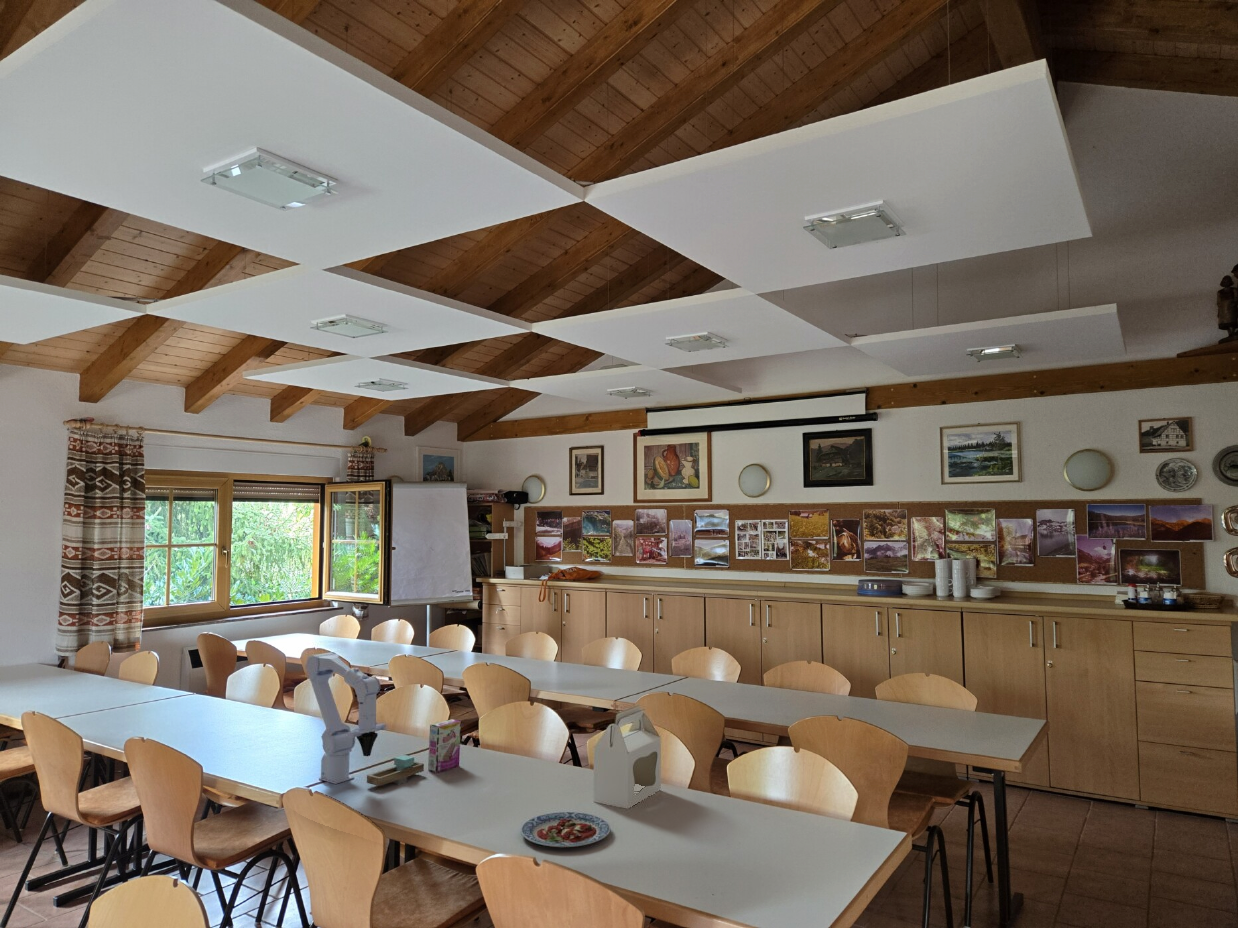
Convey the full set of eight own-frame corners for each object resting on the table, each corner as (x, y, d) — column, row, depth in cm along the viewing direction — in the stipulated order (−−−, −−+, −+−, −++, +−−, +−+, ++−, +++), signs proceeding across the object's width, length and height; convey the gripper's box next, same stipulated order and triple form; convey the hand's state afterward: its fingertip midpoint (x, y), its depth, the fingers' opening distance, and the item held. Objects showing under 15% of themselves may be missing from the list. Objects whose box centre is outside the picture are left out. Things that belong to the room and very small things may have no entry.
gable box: (627, 810, 252) (628, 718, 254) (592, 802, 259) (593, 713, 261) (661, 790, 271) (661, 705, 273) (627, 783, 278) (628, 700, 280)
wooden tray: (365, 787, 271) (366, 774, 272) (410, 772, 288) (411, 760, 288) (379, 790, 268) (380, 778, 268) (424, 775, 284) (424, 763, 285)
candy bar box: (437, 773, 287) (438, 726, 288) (427, 770, 290) (428, 724, 291) (460, 765, 296) (461, 720, 297) (451, 763, 299) (452, 718, 300)
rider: (393, 771, 281) (394, 757, 281) (403, 767, 284) (403, 754, 285) (404, 773, 278) (404, 760, 278) (413, 770, 281) (414, 757, 282)
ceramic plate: (564, 812, 250) (564, 802, 250) (628, 833, 233) (628, 823, 233) (501, 837, 230) (501, 826, 230) (567, 862, 213) (567, 850, 214)
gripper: (357, 720, 265) (357, 762, 264) (392, 711, 277) (391, 752, 276) (343, 717, 269) (343, 759, 268) (378, 709, 281) (377, 749, 280)
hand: (366, 755), depth 272 cm, fingers closed
